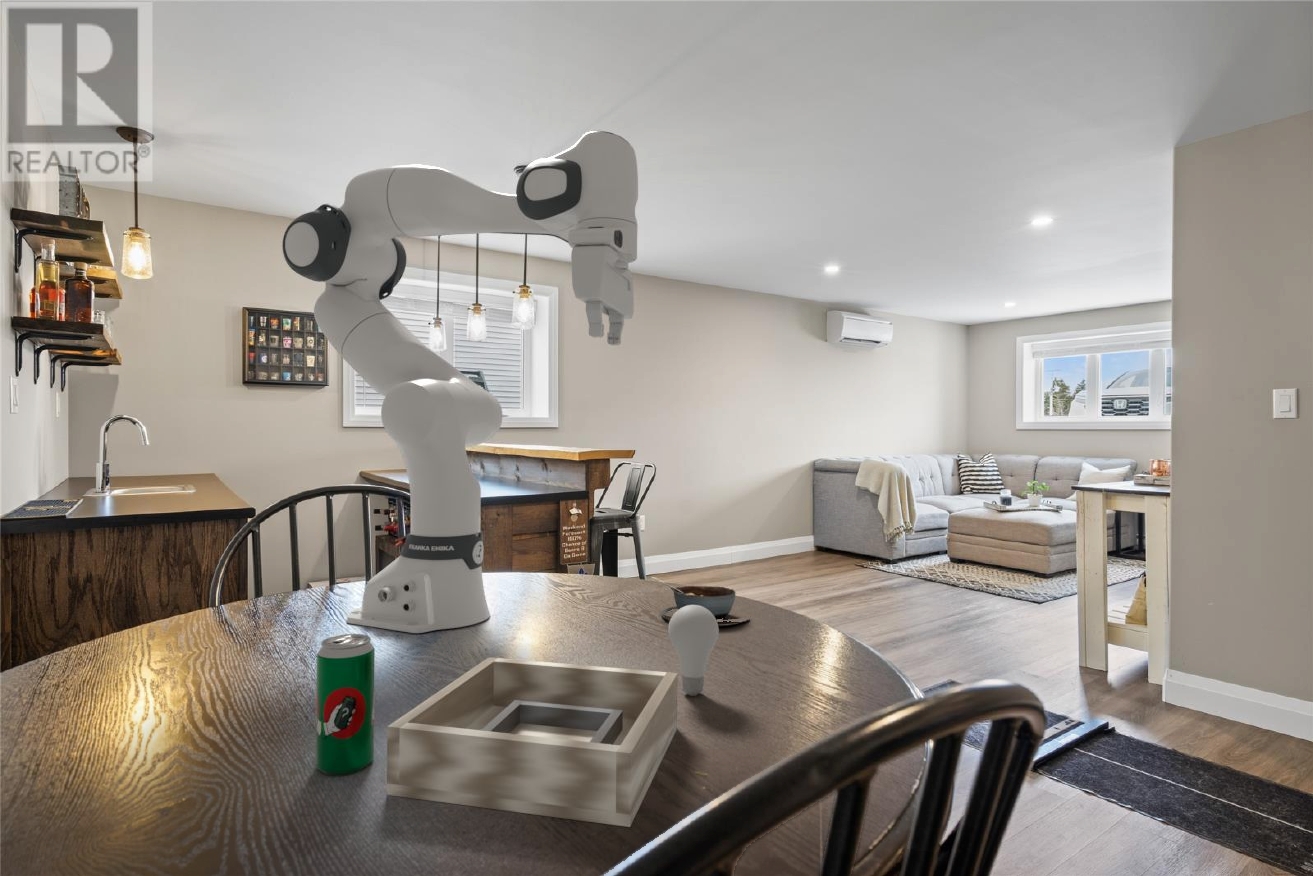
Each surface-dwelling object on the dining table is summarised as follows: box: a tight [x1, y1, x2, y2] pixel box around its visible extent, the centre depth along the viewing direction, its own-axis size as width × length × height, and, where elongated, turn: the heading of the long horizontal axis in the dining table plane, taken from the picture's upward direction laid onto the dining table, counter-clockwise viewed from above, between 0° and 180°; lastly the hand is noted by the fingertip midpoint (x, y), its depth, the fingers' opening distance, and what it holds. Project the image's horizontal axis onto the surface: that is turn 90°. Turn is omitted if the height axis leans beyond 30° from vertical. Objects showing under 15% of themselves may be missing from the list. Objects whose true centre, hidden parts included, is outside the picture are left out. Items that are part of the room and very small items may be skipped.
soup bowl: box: [651, 576, 750, 628], centre depth 123 cm, size 15×16×7 cm
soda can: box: [315, 633, 376, 776], centre depth 69 cm, size 5×5×12 cm
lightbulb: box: [667, 605, 720, 697], centre depth 88 cm, size 6×6×11 cm
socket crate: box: [386, 657, 679, 828], centre depth 71 cm, size 22×20×6 cm
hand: (605, 341), depth 107 cm, fingers open, 8 cm apart
